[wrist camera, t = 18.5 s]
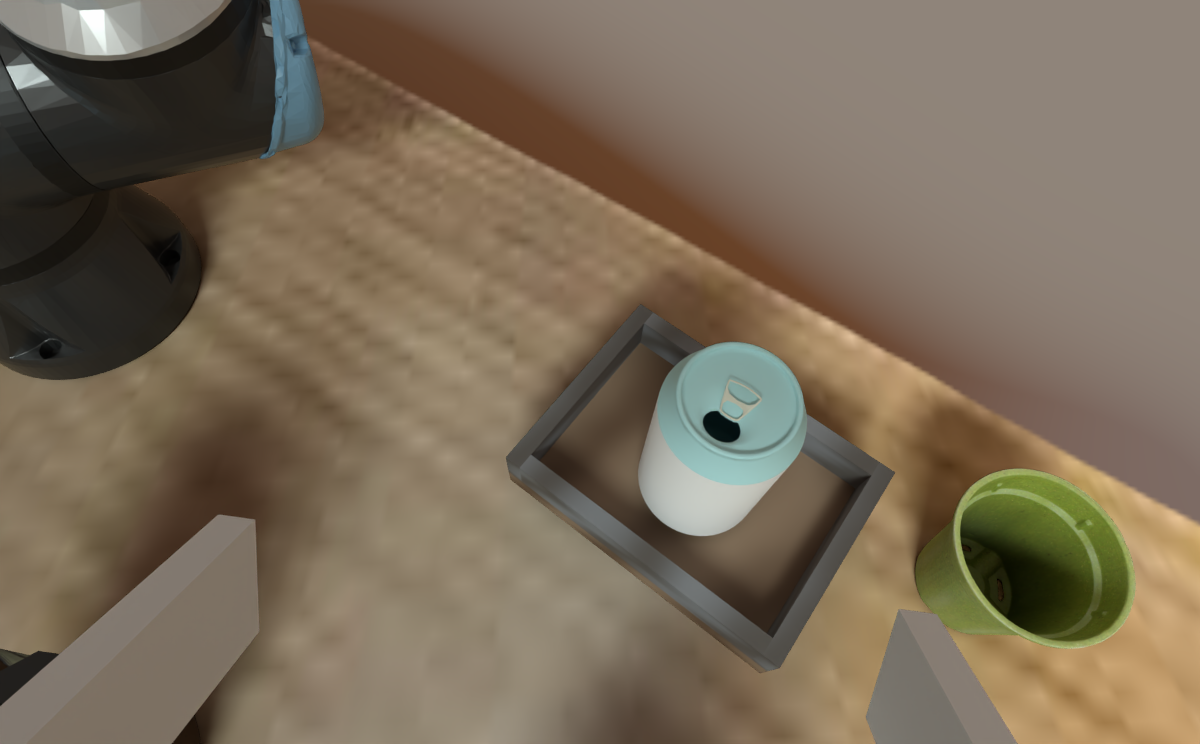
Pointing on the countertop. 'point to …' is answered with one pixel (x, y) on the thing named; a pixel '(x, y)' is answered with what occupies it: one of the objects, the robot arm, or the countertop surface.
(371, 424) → the countertop surface
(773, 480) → the can
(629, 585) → the countertop surface
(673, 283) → the countertop surface
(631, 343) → the grey rectangular tray
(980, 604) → the plant pot
